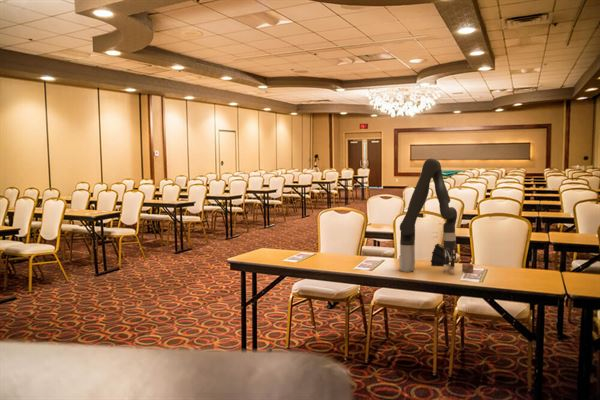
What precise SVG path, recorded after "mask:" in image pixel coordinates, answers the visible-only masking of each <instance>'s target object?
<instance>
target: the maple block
mask: <svg viewBox="0 0 600 400" xmlns="http://www.w3.org/2000/svg"><path fill="white" fill-rule="evenodd" d="M443 273H444V274H445V275H454V274H455V266H454V267H451V263H449V264H445V265H444V266H443Z"/></svg>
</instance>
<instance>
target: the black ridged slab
mask: <svg viewBox="0 0 600 400" xmlns="http://www.w3.org/2000/svg"><path fill="white" fill-rule="evenodd" d="M431 254H432V255H431V259H430V262H431V266H432V267H444V265H445V264H446V263H445V256H444V247H443V244H442V245H441V244H440V243H436V244H435V245H434V248H433V251H432V252H431ZM449 260H450V258H449Z"/></svg>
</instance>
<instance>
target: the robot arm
mask: <svg viewBox="0 0 600 400" xmlns="http://www.w3.org/2000/svg"><path fill="white" fill-rule="evenodd" d="M421 168H422V169H421V172H420V176H419V177H418V180H417V183H416V184H415V187H414V190H413V192H412V194H411V196H410V200H409V203H408V208H407V211H406V213H405V215H404V217H403V218H402V221H401V222H400V224H399V231H400V241H399V244H400V246H399V252H400V253H399V257H398V258H399V259H398V260H399V267H398V268H399V271H401V272H405V273H412V272H414V271H415V270H416V269H415V268H416V266H415V265H416V264H415V263H416V261H415V260H416V257H415V256H416V252H415V248H416V241H415V240H416V222H417V220H418V216H419V214H420V213H421V211H422V209H423V208H424V205H425V203H426V202H427V200H428V196H429V192H430V186H431V185H430V184H431V180H433V184H434V191H435V194H436V198H437V201H438V203H439V214H440V216H441V218H443V219H444V220H445V223H443V225H442V226H443V227H442V229H443V231H442V232H443V234H442V235H443V236H442V246H443V247H444V256H445V263H446V264H451V267H454V268H455V261H456V260H457V251H456V249H455V248H456V246H457V242H456V241H457V238H456V237H457V235H456V223H457V218H458V212H457V210H456V209H457V208H455V207H453V206H451V207H450V204H449V203H451V198H450V195H449V192H448V190H447V186H446V184H445V181H444V175H443V171H442V166H441V163H440V161H439V160H437V159H435V158H432V157H431V158H428V159H426V160H424V163H423V165H422V167H421ZM454 249H455V250H454ZM449 258H450V259H449Z"/></svg>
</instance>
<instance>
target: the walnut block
mask: <svg viewBox="0 0 600 400" xmlns="http://www.w3.org/2000/svg"><path fill="white" fill-rule="evenodd" d="M461 268H462V269H461V270H462V272H461V273H463V272H464V273H463V274H465V273H472V274H474V264H471V263H462V264H461Z"/></svg>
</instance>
